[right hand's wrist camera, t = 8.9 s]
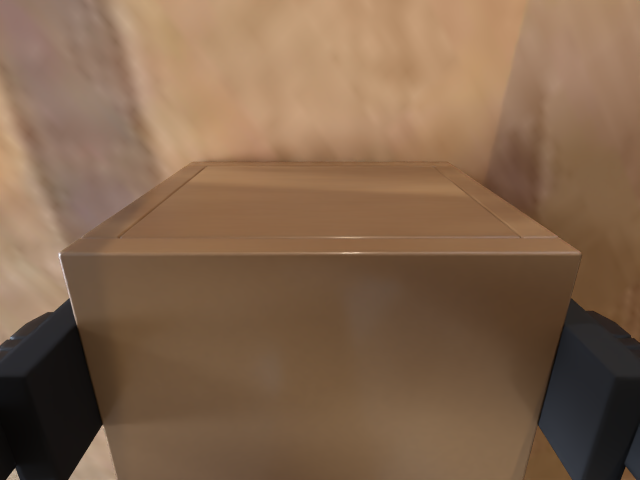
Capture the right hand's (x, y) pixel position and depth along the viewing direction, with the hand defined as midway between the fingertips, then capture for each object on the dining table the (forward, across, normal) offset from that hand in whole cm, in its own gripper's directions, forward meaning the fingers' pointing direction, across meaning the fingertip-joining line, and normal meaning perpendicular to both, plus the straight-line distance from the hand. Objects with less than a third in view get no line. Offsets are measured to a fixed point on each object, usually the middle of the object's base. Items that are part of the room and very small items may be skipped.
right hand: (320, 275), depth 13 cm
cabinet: (+4, 0, -6) cm, 7 cm away
